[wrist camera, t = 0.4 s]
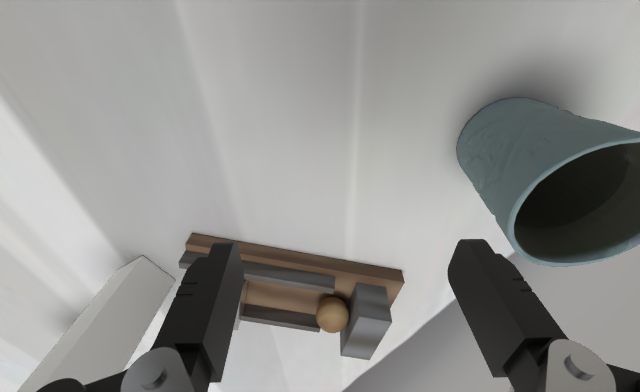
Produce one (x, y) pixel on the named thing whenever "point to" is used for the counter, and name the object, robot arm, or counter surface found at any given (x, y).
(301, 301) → the base
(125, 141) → the counter surface
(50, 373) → the milk
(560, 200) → the teal cup
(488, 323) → the robot arm
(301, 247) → the counter surface
